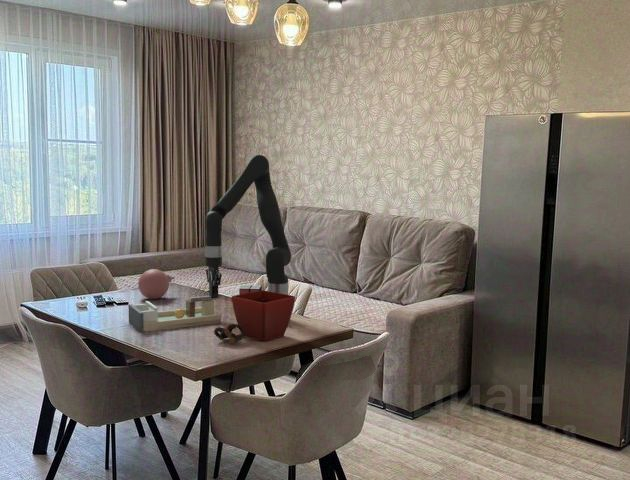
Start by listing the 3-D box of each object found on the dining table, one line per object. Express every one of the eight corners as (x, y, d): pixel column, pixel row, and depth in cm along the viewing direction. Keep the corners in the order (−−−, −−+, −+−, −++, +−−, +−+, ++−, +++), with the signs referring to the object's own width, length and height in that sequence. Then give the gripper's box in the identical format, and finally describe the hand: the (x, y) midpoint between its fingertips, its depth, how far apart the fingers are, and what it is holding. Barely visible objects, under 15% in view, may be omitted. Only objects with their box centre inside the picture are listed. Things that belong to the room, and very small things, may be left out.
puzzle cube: (259, 309, 308) (259, 289, 307) (239, 308, 308) (239, 288, 307) (261, 304, 318) (261, 285, 317) (241, 304, 318) (242, 284, 317)
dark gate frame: (219, 314, 287) (219, 279, 285) (189, 317, 280) (189, 282, 278) (214, 312, 291) (215, 278, 289) (186, 315, 284) (185, 280, 282)
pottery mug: (241, 338, 258) (246, 324, 253) (239, 355, 250) (245, 340, 245) (212, 332, 255) (217, 317, 251) (210, 348, 247) (215, 333, 243)
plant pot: (262, 327, 274) (263, 289, 272) (295, 336, 262) (296, 296, 260) (229, 336, 259) (230, 296, 257) (263, 345, 247) (264, 303, 245)
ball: (186, 319, 279) (186, 309, 279) (176, 320, 277) (176, 310, 276) (182, 317, 283) (182, 307, 282) (173, 318, 281) (172, 308, 280)
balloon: (182, 298, 329) (182, 269, 327) (147, 303, 315) (146, 272, 313) (167, 293, 340) (167, 265, 338) (133, 298, 326) (132, 268, 325)
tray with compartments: (221, 322, 281) (221, 302, 279) (139, 332, 262) (139, 310, 261) (206, 313, 296) (206, 294, 295) (128, 322, 278) (128, 301, 276)
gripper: (227, 257, 281) (227, 295, 283) (215, 253, 293) (215, 289, 295) (211, 258, 277) (211, 296, 279) (200, 253, 289) (200, 291, 291)
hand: (213, 292), depth 287 cm, fingers closed on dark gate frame, 3 cm apart
